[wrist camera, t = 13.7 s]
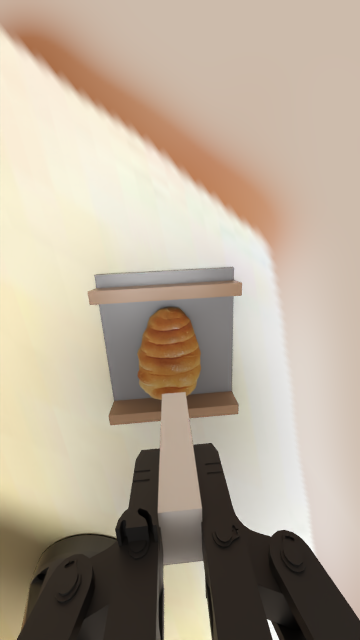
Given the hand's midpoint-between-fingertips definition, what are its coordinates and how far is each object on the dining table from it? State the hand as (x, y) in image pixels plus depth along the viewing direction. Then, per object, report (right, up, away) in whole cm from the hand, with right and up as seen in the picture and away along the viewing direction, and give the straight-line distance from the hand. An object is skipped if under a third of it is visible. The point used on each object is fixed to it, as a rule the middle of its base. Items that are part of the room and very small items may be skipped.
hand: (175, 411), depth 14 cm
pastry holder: (-1, +3, +10) cm, 11 cm away
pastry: (-1, +2, +10) cm, 10 cm away
